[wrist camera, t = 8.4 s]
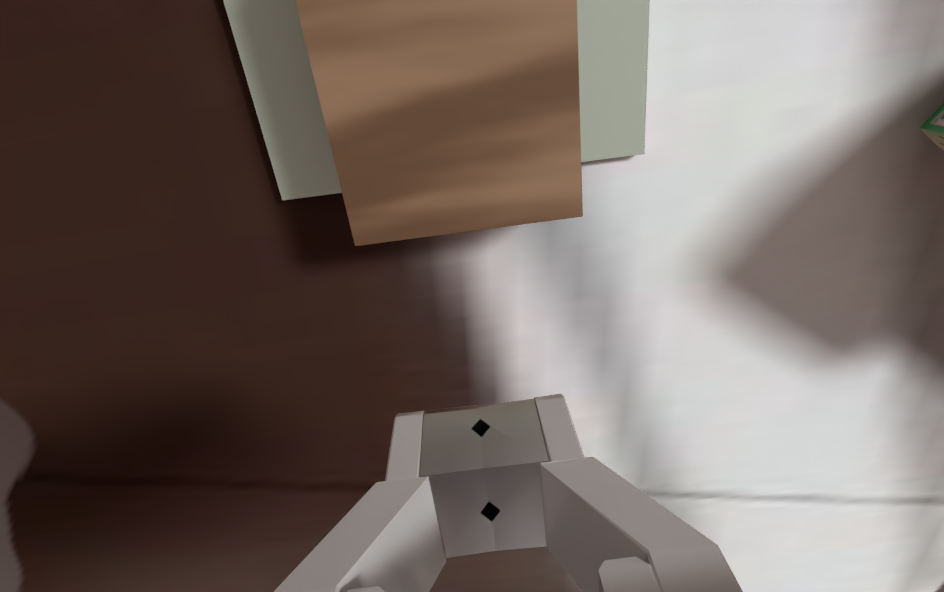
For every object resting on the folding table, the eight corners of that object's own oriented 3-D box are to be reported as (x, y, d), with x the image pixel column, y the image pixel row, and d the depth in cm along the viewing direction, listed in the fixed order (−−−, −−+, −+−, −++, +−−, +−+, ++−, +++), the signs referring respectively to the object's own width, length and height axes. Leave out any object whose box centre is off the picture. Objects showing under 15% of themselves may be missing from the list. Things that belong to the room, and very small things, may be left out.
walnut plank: (582, 216, 22) (573, -134, 17) (355, 246, 22) (273, -90, 17) (564, 191, 26) (551, -104, 20) (368, 217, 26) (303, -68, 21)
